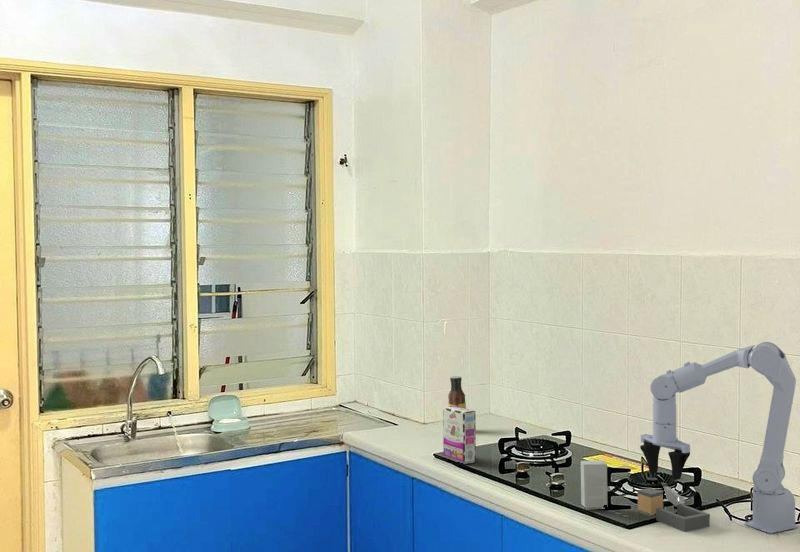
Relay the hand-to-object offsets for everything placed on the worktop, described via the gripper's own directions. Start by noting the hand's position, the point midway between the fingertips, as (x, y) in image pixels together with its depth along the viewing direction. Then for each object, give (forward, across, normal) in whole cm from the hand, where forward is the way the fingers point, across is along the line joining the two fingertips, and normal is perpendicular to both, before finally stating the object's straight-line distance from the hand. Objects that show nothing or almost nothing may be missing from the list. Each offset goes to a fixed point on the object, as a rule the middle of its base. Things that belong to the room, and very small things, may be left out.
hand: (664, 475), depth 227 cm
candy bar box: (+9, +72, +13) cm, 74 cm away
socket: (+10, -7, +2) cm, 12 cm away
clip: (+9, +3, -5) cm, 11 cm away
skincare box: (+10, +13, +12) cm, 20 cm away
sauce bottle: (+9, +106, -10) cm, 107 cm away
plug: (+10, +3, +2) cm, 10 cm away
